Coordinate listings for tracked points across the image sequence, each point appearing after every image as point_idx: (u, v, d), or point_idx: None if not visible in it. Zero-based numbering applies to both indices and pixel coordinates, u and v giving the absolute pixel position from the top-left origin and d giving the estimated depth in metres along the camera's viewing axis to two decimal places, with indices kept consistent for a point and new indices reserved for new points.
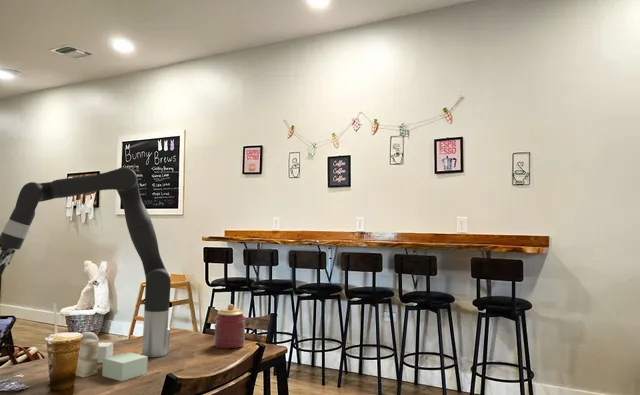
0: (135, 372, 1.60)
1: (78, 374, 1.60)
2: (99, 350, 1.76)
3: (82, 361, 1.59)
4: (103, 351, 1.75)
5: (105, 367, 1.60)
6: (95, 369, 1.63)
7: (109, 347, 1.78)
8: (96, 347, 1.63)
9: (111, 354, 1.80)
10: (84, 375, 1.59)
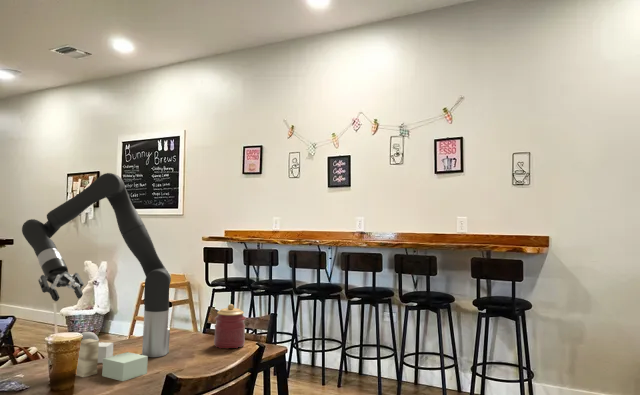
0: (135, 372, 1.60)
1: (78, 374, 1.60)
2: (99, 350, 1.76)
3: (82, 361, 1.59)
4: (103, 351, 1.75)
5: (105, 368, 1.60)
6: (95, 369, 1.63)
7: (109, 347, 1.78)
8: (96, 347, 1.63)
9: (111, 354, 1.80)
10: (84, 375, 1.59)
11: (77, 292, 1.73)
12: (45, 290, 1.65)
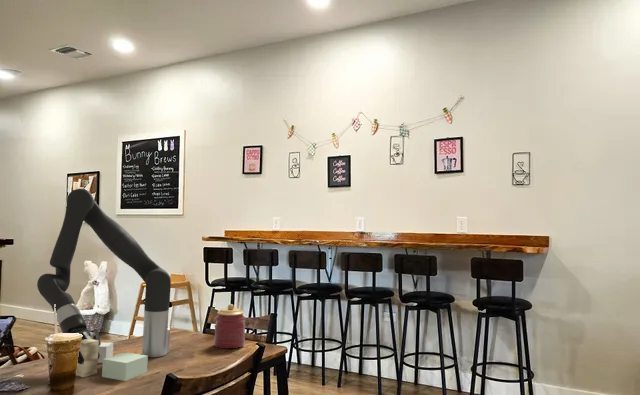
0: (136, 371, 1.61)
1: (78, 374, 1.60)
2: (99, 350, 1.76)
3: None
4: (103, 351, 1.75)
5: (105, 368, 1.59)
6: (95, 369, 1.63)
7: (109, 347, 1.78)
8: (96, 347, 1.63)
9: (111, 354, 1.80)
10: (84, 375, 1.59)
11: None
12: None
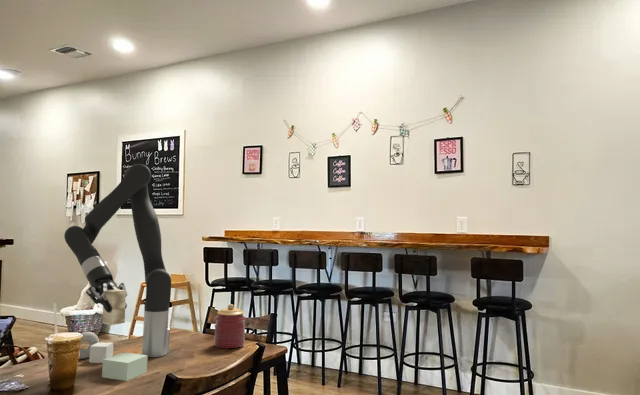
0: (137, 371, 1.61)
1: (106, 323, 1.62)
2: (99, 350, 1.76)
3: None
4: (103, 351, 1.75)
5: (105, 369, 1.59)
6: (123, 318, 1.64)
7: (109, 347, 1.78)
8: (123, 296, 1.64)
9: (111, 354, 1.80)
10: (112, 323, 1.60)
11: None
12: (98, 301, 1.60)
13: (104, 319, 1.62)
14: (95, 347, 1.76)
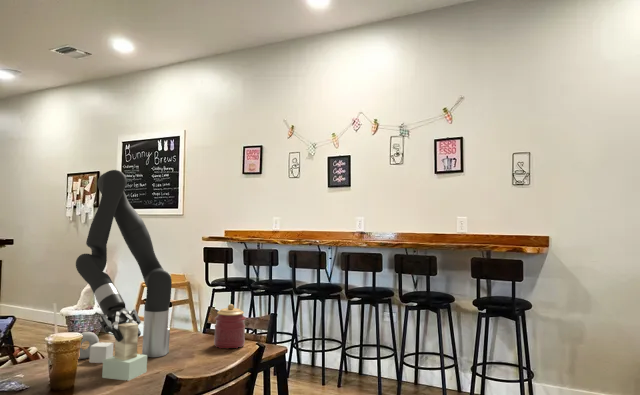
0: (138, 371, 1.61)
1: (119, 357, 1.61)
2: (99, 350, 1.76)
3: (123, 344, 1.60)
4: (103, 351, 1.75)
5: (106, 369, 1.59)
6: (135, 353, 1.64)
7: (109, 347, 1.78)
8: (136, 330, 1.64)
9: (111, 354, 1.80)
10: (125, 358, 1.60)
11: None
12: (108, 330, 1.59)
13: (116, 353, 1.62)
14: (95, 347, 1.76)
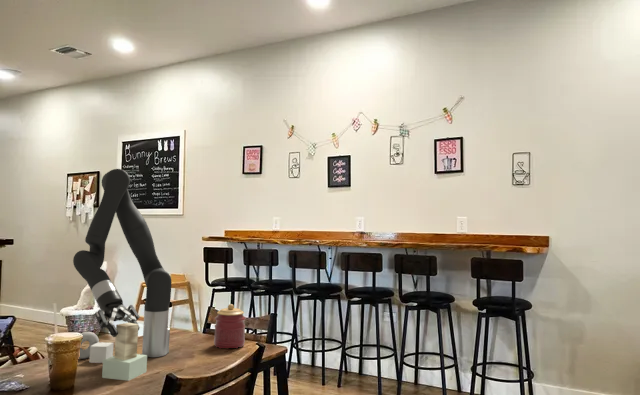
0: (138, 371, 1.62)
1: (119, 357, 1.61)
2: (99, 350, 1.76)
3: (123, 344, 1.60)
4: (103, 351, 1.75)
5: (106, 369, 1.59)
6: (135, 353, 1.64)
7: (109, 347, 1.78)
8: (136, 331, 1.64)
9: (111, 354, 1.80)
10: (125, 358, 1.60)
11: None
12: (103, 326, 1.59)
13: (116, 353, 1.62)
14: (95, 347, 1.76)
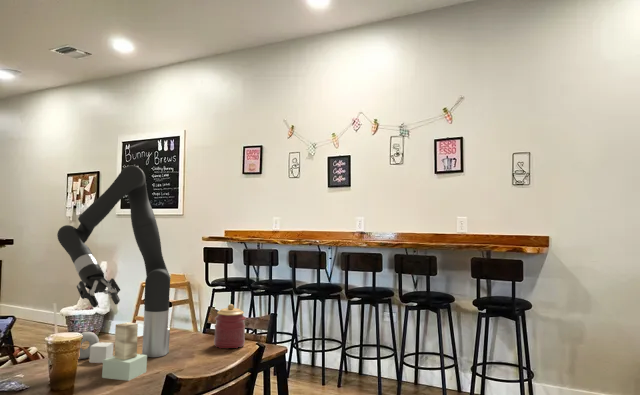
0: (138, 371, 1.62)
1: (119, 357, 1.61)
2: (99, 350, 1.76)
3: (122, 344, 1.60)
4: (103, 351, 1.75)
5: (106, 369, 1.59)
6: (135, 352, 1.63)
7: (109, 347, 1.78)
8: (135, 330, 1.64)
9: (111, 354, 1.80)
10: (125, 357, 1.60)
11: (114, 298, 1.74)
12: (84, 296, 1.66)
13: (116, 353, 1.62)
14: (95, 347, 1.76)
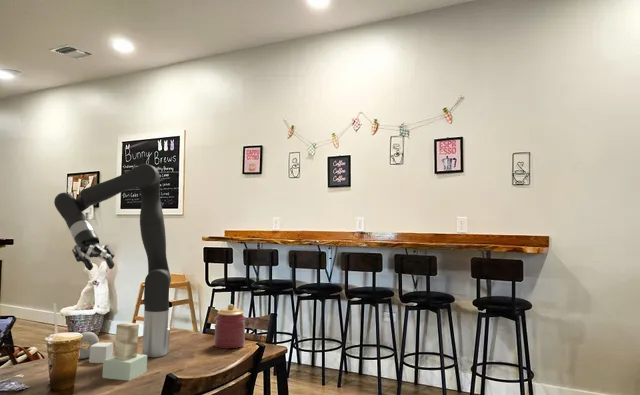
0: (138, 371, 1.62)
1: (119, 357, 1.61)
2: (99, 350, 1.76)
3: (123, 344, 1.60)
4: (103, 351, 1.75)
5: (106, 369, 1.58)
6: (135, 353, 1.63)
7: (109, 347, 1.78)
8: (136, 331, 1.64)
9: (111, 354, 1.80)
10: (125, 358, 1.60)
11: (109, 262, 1.78)
12: (79, 259, 1.70)
13: (116, 353, 1.62)
14: (95, 347, 1.76)
